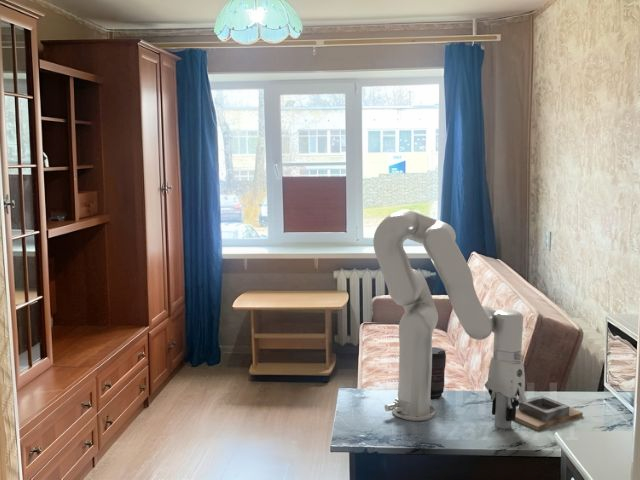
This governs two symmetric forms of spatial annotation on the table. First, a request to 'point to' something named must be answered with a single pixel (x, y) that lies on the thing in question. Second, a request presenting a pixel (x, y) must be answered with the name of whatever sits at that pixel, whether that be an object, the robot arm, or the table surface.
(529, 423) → the socket board
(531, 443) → the table surface
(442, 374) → the camera lens
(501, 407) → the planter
